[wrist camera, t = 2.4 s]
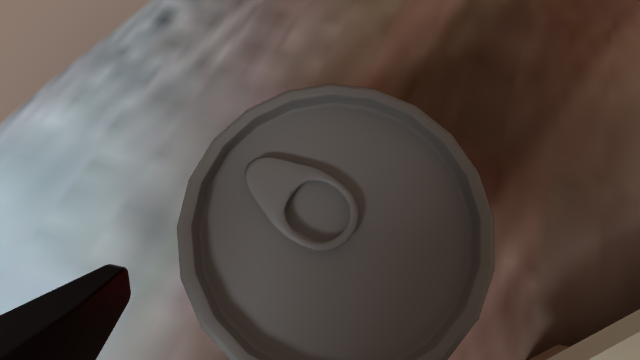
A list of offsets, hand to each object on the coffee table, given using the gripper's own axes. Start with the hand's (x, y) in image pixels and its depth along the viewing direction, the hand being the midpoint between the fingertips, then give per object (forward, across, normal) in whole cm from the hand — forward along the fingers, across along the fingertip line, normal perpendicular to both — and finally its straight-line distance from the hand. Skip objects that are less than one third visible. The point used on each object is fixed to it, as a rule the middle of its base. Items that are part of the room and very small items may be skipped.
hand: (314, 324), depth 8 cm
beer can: (+8, 0, +6) cm, 10 cm away
